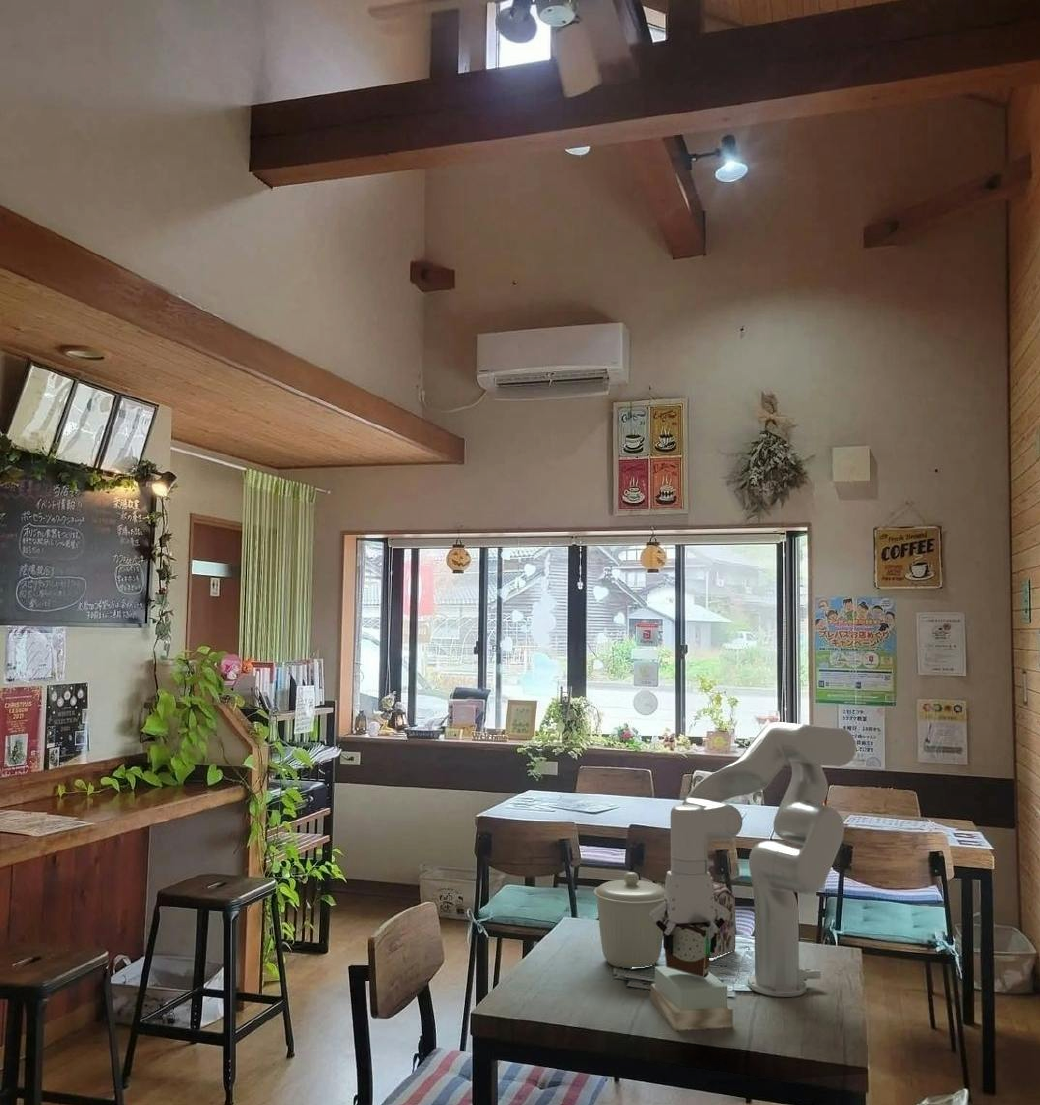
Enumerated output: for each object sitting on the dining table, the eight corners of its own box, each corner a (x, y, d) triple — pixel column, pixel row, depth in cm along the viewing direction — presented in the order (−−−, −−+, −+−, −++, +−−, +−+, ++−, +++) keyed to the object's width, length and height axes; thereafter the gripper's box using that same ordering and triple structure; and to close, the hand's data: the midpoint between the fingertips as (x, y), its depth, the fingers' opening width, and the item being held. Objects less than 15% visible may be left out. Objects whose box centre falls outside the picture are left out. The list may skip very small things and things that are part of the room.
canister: (579, 957, 237) (579, 868, 239) (640, 946, 246) (640, 860, 248) (621, 981, 221) (621, 885, 223) (685, 968, 230) (685, 876, 232)
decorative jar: (712, 963, 234) (712, 885, 236) (670, 952, 242) (670, 877, 243) (737, 951, 243) (736, 876, 245) (696, 941, 251) (695, 869, 252)
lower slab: (704, 1000, 212) (704, 981, 212) (732, 1030, 196) (732, 1009, 196) (650, 1003, 210) (650, 984, 210) (675, 1033, 194) (675, 1012, 194)
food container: (727, 972, 202) (726, 922, 202) (710, 980, 197) (708, 929, 198) (677, 958, 210) (677, 910, 211) (660, 965, 206) (659, 916, 207)
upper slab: (698, 982, 211) (698, 963, 211) (727, 1006, 198) (727, 986, 198) (654, 986, 209) (654, 966, 209) (680, 1011, 195) (680, 990, 195)
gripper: (722, 860, 210) (723, 944, 209) (643, 863, 208) (644, 948, 206) (735, 869, 203) (736, 956, 201) (653, 872, 200) (654, 959, 199)
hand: (689, 951), depth 204 cm, fingers closed on food container, 8 cm apart
